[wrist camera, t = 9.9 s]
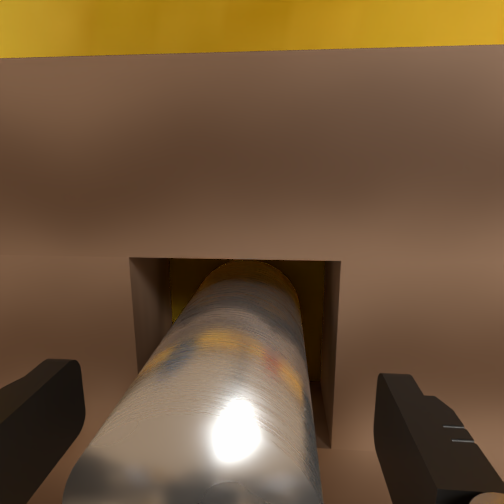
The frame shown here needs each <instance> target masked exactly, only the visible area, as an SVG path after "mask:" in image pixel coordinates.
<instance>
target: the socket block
mask: <svg viewBox="0 0 504 504" xmlns="http://www.w3.org/2000/svg"><path fill="white" fill-rule="evenodd" d="M169 258H203V259H260V260H316V261H325V275H324V298H323V322H322V346H321V369H320V382H309V386H310V394H311V402H312V411H313V419H314V427H315V435H316V444H317V452H318V460H319V469H320V477H321V485H322V494H323V502H324V504H393V503H392V500H391V497H390V494H389V491H388V488H387V485H386V482H385V479H384V476H383V473H382V469H381V466H380V463H379V460H378V457H377V454H376V450H375V444H374V435H373V426H374V413H375V400H376V388H377V379H378V375H379V374H380V373H394V374H410V375H412V377H413V378H414V380H415V381H416V383H417V385H418V386H419V388H420V389H421V391H422V393H423V394H424V395H427V396H436V397H437V398H438V399H440V400H441V401H442V402H443V403H445V404H446V405H447V406H449V407H450V408H451V409H453V410H454V412H455V413H456V415H457V416H458V418H459V419H460V420H461V422H462V423H463V425H464V428H465V429H467V430H468V432H469V433H470V435H471V436H472V438H473V439H474V443H476V444H477V445H478V446H479V448H480V449H481V451H482V452H483V453H484V455H485V456H486V458H487V459H488V461H489V462H490V463H491V465H492V466H493V468H494V469H495V471H496V472H497V473H498V475H499V476H500V478H501V479H502V481H503V482H504V45H469V46H433V47H396V48H360V49H323V50H287V51H250V52H214V53H178V54H141V55H105V56H68V57H32V58H0V389H1V388H2V387H4V386H6V385H8V384H10V383H12V382H14V381H16V380H18V379H20V378H22V377H24V376H25V375H27V374H28V373H29V372H30V371H32V370H33V369H34V368H35V367H37V366H38V365H39V364H40V363H42V362H43V361H44V360H46V359H73V360H77V361H78V362H79V364H80V367H81V374H82V382H83V391H84V400H85V409H86V415H85V421H84V425H83V428H82V430H81V432H80V434H79V435H78V437H77V438H76V439H75V441H74V442H73V443H72V445H71V446H70V447H69V449H68V450H67V451H66V453H65V454H64V455H63V456H62V458H61V459H60V460H59V462H58V463H57V464H56V466H55V467H54V468H53V470H52V471H51V472H50V473H49V475H48V476H47V477H46V479H45V480H44V481H43V483H42V484H41V485H40V487H39V488H38V489H37V490H36V492H35V493H34V494H33V496H32V497H31V498H30V500H29V501H28V502H27V504H62V499H63V493H64V489H65V485H66V482H67V479H68V477H69V475H70V473H71V470H72V469H73V467H74V466H75V464H76V462H77V461H78V459H79V458H80V456H81V455H82V454H83V452H84V451H85V449H86V448H87V446H88V445H89V444H90V442H91V441H92V439H93V438H94V437H95V435H96V434H97V432H98V431H99V429H100V428H101V427H102V425H103V424H104V422H105V421H106V419H107V418H108V417H109V415H110V414H111V412H112V411H113V409H114V408H115V407H116V405H117V404H118V402H119V401H120V399H121V398H122V397H123V395H124V394H125V392H126V391H127V389H128V388H129V387H130V385H131V384H132V382H133V381H134V379H135V378H136V377H137V375H138V374H139V372H140V371H141V370H142V368H143V367H144V365H145V364H146V362H147V361H148V360H149V358H150V357H151V355H152V354H153V352H154V351H155V350H156V348H157V347H158V345H159V344H160V342H161V341H162V340H163V338H164V337H165V335H166V334H167V332H168V331H169V330H170V328H171V327H172V308H171V289H170V270H169Z"/></svg>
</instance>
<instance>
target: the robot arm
mask: <svg viewBox="0 0 504 504" xmlns="http://www.w3.org/2000/svg"><path fill="white" fill-rule="evenodd" d="M85 415H86V409H85V400H84V391H83V382H82V374H81V367H80V364H79V362H78V361H77V360H73V359H46V360H44V361H43V362H42V363H40V364H39V365H38V366H37V367H35V368H34V369H33V370H32V371H30V372H29V373H28V374H27V375H25V376H24V377H22V378H20V379H18V380H16V381H14V382H12V383H10V384H8V385H6V386H4V387H2V388H1V389H0V504H27V502H28V501H29V500H30V498H31V497H32V496H33V494H34V493H35V492H36V490H37V489H38V488H39V487H40V485H41V484H42V483H43V481H44V480H45V479H46V477H47V476H48V475H49V473H50V472H51V471H52V470H53V468H54V467H55V466H56V464H57V463H58V462H59V460H60V459H61V458H62V456H63V455H64V454H65V453H66V451H67V450H68V449H69V447H70V446H71V445H72V443H73V442H74V441H75V439H76V438H77V437H78V435H79V434H80V432H81V430H82V428H83V425H84V421H85ZM373 435H374V444H375V450H376V454H377V457H378V460H379V463H380V466H381V469H382V473H383V476H384V479H385V482H386V485H387V488H388V491H389V494H390V497H391V500H392V503H393V504H504V482H503V481H502V479H501V478H500V476H499V475H498V473H497V472H496V471H495V469H494V468H493V466H492V465H491V463H490V462H489V461H488V459H487V458H486V456H485V455H484V453H483V452H482V451H481V449H480V448H479V446H478V445H477V444H476V443H474V439H473V438H472V436H471V435H470V433H469V432H468V430H467V429H465V428H464V425H463V423H462V422H461V420H460V419H459V418H458V416H457V415H456V413H455V412H454V410H453V409H451V408H450V407H449V406H447V405H446V404H445V403H443V402H442V401H441V400H440V399H438V398H437V397H436V396H427V395H424V394H423V393H422V391H421V389H420V388H419V386H418V385H417V383H416V381H415V380H414V378H413V377H412V375H410V374H394V373H380V374H379V375H378V379H377V388H376V400H375V413H374V426H373Z"/></svg>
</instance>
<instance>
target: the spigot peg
mask: <svg viewBox="0 0 504 504" xmlns="http://www.w3.org/2000/svg"><path fill="white" fill-rule="evenodd" d="M62 504H324V502H323V494H322V485H321V477H320V469H319V460H318V452H317V444H316V435H315V427H314V419H313V411H312V402H311V394H310V386H309V377H308V369H307V361H306V352H305V344H304V336H303V327H302V319H301V311H300V303H299V298H298V295H297V292H296V290H295V288H294V286H293V285H292V283H291V282H290V280H289V279H288V278H287V277H286V276H285V275H284V274H283V273H282V272H281V271H279V270H278V269H276V268H275V267H273V266H271V265H269V264H267V263H264V262H261V261H256V260H248V259H245V260H236V261H231V262H228V263H225V264H223V265H221V266H219V267H218V268H216V269H215V270H213V271H212V272H211V273H210V274H209V275H208V276H207V277H206V278H205V280H204V281H203V283H202V284H201V285H200V287H199V288H198V290H197V291H196V293H195V294H194V295H193V297H192V298H191V300H190V301H189V303H188V304H187V305H186V307H185V308H184V310H183V311H182V312H181V314H180V315H179V317H178V318H177V320H176V321H175V322H174V324H173V325H172V327H171V328H170V330H169V331H168V332H167V334H166V335H165V337H164V338H163V340H162V341H161V342H160V344H159V345H158V347H157V348H156V350H155V351H154V352H153V354H152V355H151V357H150V358H149V360H148V361H147V362H146V364H145V365H144V367H143V368H142V370H141V371H140V372H139V374H138V375H137V377H136V378H135V379H134V381H133V382H132V384H131V385H130V387H129V388H128V389H127V391H126V392H125V394H124V395H123V397H122V398H121V399H120V401H119V402H118V404H117V405H116V407H115V408H114V409H113V411H112V412H111V414H110V415H109V417H108V418H107V419H106V421H105V422H104V424H103V425H102V427H101V428H100V429H99V431H98V432H97V434H96V435H95V437H94V438H93V439H92V441H91V442H90V444H89V445H88V446H87V448H86V449H85V451H84V452H83V454H82V455H81V456H80V458H79V459H78V461H77V462H76V464H75V466H74V467H73V469H72V470H71V473H70V475H69V477H68V479H67V482H66V485H65V489H64V493H63V499H62Z"/></svg>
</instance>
